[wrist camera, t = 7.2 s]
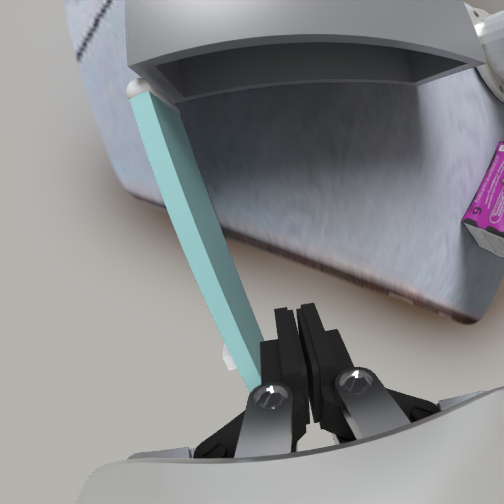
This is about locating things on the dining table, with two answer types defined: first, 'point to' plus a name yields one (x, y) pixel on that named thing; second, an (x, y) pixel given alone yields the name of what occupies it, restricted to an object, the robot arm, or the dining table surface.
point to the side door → (197, 227)
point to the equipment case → (295, 43)
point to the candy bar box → (489, 207)
